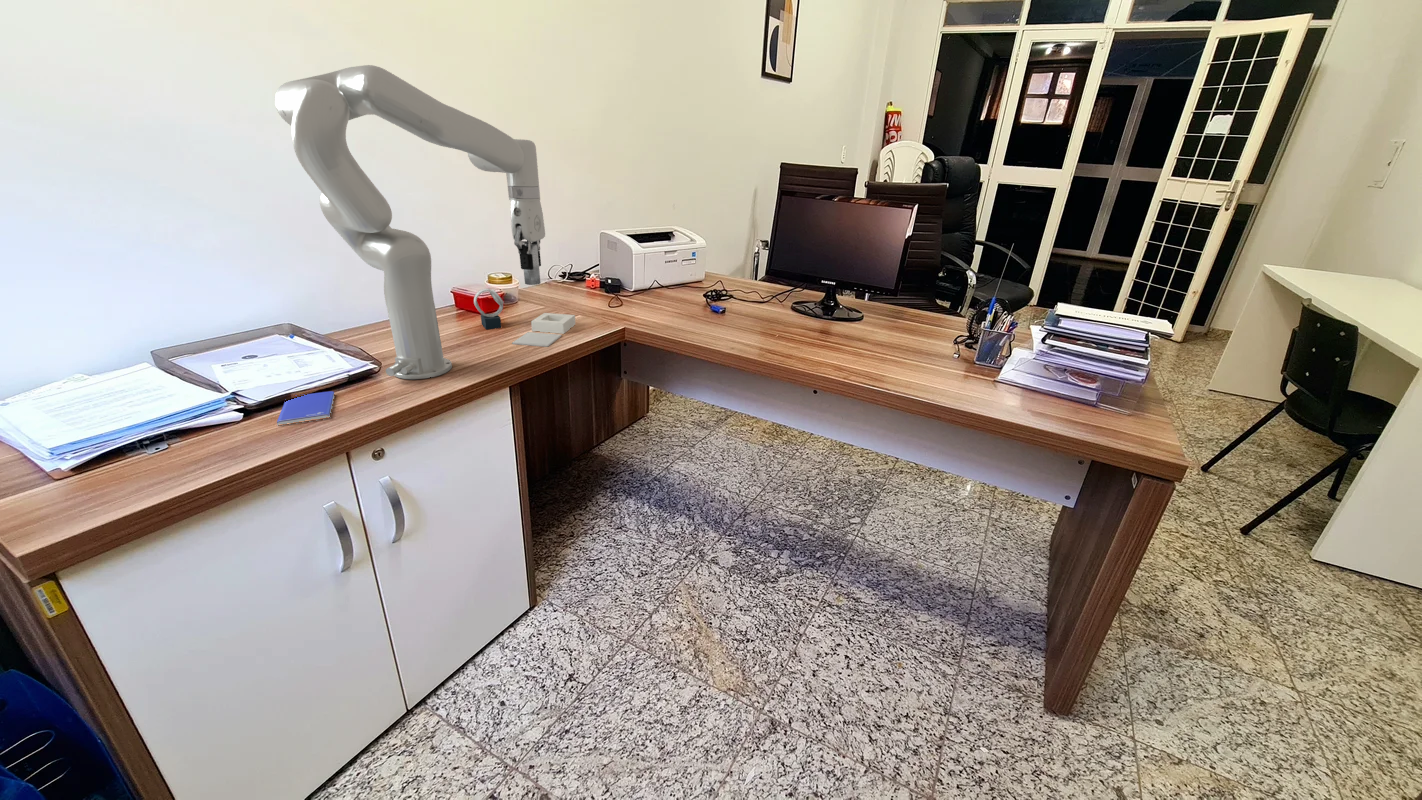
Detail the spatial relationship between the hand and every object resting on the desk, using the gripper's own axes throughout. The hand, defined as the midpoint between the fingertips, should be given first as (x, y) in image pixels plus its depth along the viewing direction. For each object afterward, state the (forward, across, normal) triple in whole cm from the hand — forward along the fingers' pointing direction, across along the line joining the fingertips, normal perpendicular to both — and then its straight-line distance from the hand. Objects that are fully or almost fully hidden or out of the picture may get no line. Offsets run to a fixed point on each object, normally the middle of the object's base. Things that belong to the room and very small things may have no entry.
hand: (531, 267), depth 145 cm
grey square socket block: (+20, +12, 0) cm, 23 cm away
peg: (+4, 0, 0) cm, 4 cm away
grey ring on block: (+20, +9, +18) cm, 29 cm away
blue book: (+21, -52, +25) cm, 61 cm away
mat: (+20, 0, 0) cm, 20 cm away
